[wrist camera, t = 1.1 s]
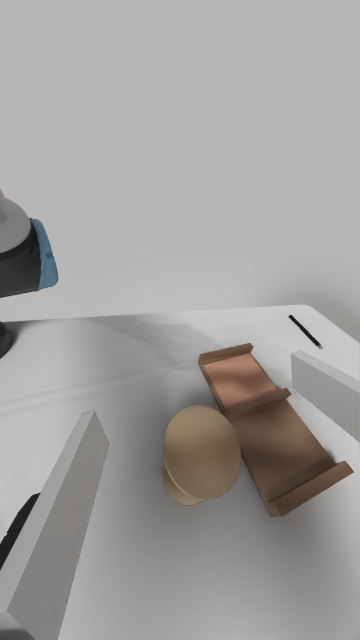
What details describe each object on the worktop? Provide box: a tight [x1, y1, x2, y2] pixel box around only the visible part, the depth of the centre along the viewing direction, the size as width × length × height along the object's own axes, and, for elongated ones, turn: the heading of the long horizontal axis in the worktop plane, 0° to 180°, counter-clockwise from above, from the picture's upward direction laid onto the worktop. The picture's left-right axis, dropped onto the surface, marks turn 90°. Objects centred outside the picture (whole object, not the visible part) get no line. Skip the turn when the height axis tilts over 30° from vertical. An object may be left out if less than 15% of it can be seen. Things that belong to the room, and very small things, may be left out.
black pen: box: [289, 315, 323, 349], centre depth 47 cm, size 12×1×1 cm, turn 9°
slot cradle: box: [198, 343, 354, 516], centre depth 30 cm, size 23×12×3 cm, turn 19°
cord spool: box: [162, 405, 241, 505], centre depth 20 cm, size 7×7×12 cm
